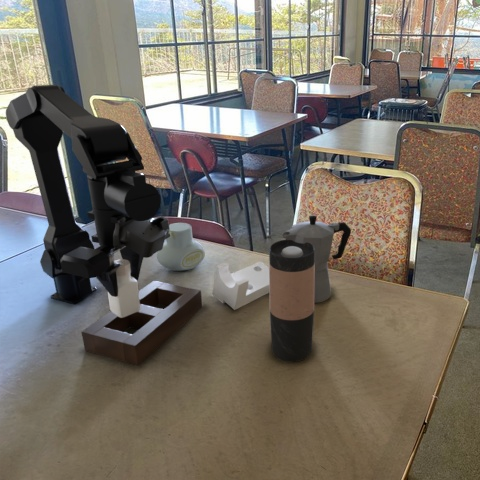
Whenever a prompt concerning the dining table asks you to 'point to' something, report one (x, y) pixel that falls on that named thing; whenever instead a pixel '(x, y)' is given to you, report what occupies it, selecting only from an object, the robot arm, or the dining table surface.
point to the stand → (143, 323)
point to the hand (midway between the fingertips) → (124, 289)
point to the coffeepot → (320, 249)
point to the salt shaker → (125, 292)
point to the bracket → (240, 284)
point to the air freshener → (180, 249)
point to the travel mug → (291, 299)
